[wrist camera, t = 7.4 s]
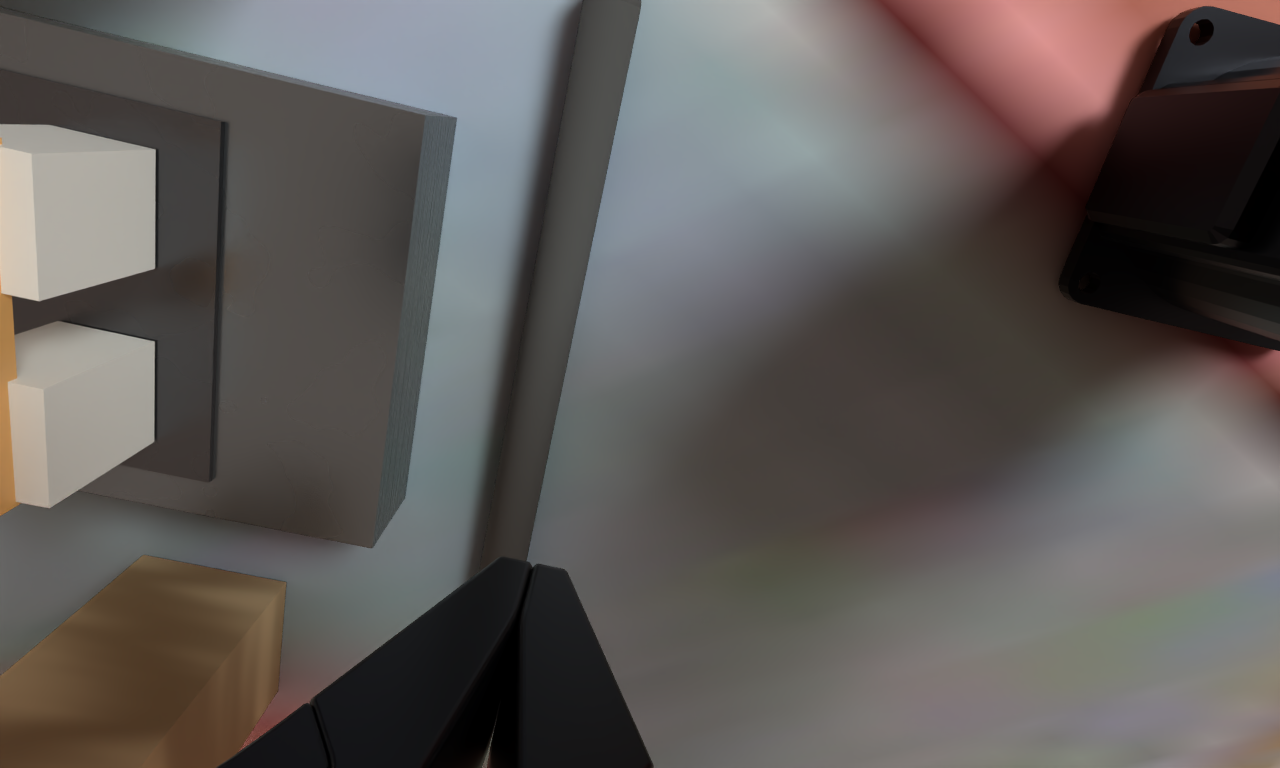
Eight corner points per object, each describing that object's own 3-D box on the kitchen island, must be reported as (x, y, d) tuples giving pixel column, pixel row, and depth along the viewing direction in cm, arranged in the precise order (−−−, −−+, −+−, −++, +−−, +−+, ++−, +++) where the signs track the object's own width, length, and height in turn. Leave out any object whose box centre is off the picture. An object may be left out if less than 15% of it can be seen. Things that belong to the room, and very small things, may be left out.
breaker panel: (456, 117, 16) (423, 115, 14) (405, 498, 20) (370, 551, 17) (-96, -16, 15) (-239, -45, 13) (-54, 405, 19) (-162, 447, 16)
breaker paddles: (155, 144, 14) (-2, 148, 10) (154, 445, 16) (23, 530, 13) (49, 119, 14) (-145, 115, 10) (62, 427, 16) (-96, 507, 12)
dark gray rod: (646, -17, 15) (647, -28, 14) (512, 628, 21) (505, 657, 20) (592, -31, 15) (587, -44, 14) (472, 621, 21) (462, 649, 20)
